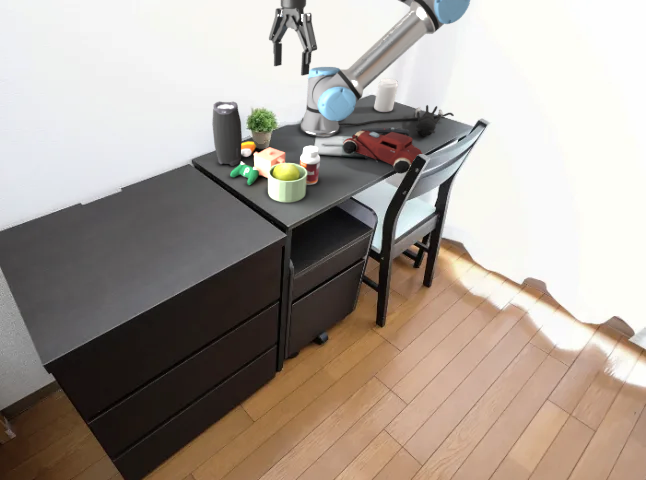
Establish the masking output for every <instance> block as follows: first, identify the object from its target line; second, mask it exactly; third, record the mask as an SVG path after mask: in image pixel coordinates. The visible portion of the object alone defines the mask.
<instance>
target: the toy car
mask: <svg viewBox="0 0 646 480" xmlns="http://www.w3.org/2000/svg"><path fill="white" fill-rule="evenodd" d="M361 130H362V129H361ZM361 130H359V131H357V132H355V134H352V136H351V137H348V138H346V139H345V140H344V141H343V142H342V150H343V152H344V153H346V154H348V155H351V154H354V153H356V154H360V155H362V156H366V157H369V158H371V159H374V160H376V161H378V160H380V161H382V162H385V163H387V164H389V165H391V166H392V167H393V170H394V172H396V173H397V174H401V175H402V174H405V173H408V172H409V171H408V169H409V168H410V165H411V164H412V162H413V160H414V159H415V158H416V156H418V155H419V154H423V152H422V150H421V149H420V148H418V147H416V146H415V145H414V144H413V137H411V136H406V135H403V134H399V133H394V132H390V133H388V134H387V135H385V136H384V135H379V134H378V133H375V132H372V133H371V132H369V131H364V130H362V131H361ZM407 171H408V172H407Z"/></svg>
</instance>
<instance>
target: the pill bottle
mask: <svg viewBox="0 0 646 480" xmlns="http://www.w3.org/2000/svg"><path fill="white" fill-rule="evenodd" d="M320 163H321V157H320V155H319V147H318V146H316V145H306V146H304V147H303V150H302V154H301V155H300V158H299V165H301V166H302V167H304V168H305V169H306V170H307V183H306V186H311V185H312V186H313V185H316V184H317V183H318V180H319V173H320Z"/></svg>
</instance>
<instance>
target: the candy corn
mask: <svg viewBox="0 0 646 480" xmlns="http://www.w3.org/2000/svg"><path fill="white" fill-rule="evenodd" d="M256 147H257V145H256V143H255V142H254V141H249V140H248V141H245V142H242V147H241V156H242V157H243V158H247V157H249V156H251V155H252V154H253V153H254V151H256Z"/></svg>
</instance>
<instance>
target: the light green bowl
mask: <svg viewBox="0 0 646 480" xmlns="http://www.w3.org/2000/svg"><path fill="white" fill-rule="evenodd" d="M280 164H292V165H294V166H295V167H296V168H297V169H298V170H299V172H300V179H298V180H295V181H281V180H278V179H275V178H273V176H272V173H273V170H274V168H275V167H276V166H278V165H280ZM280 164H276V165H274V166H272V167H271V168H270V169H269V170H268V178H267V193H268V196H269V197H270V198H271V199H272V200H274V201H277V202H280V203H295V202H298V201H301V200H302V199H304V197H306V193H307V185H306V183H307V170H306V169H305V168H304V167H302V166H301V165H300V164H298V163H295V162H294V163H293V162H285V163H280Z"/></svg>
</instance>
